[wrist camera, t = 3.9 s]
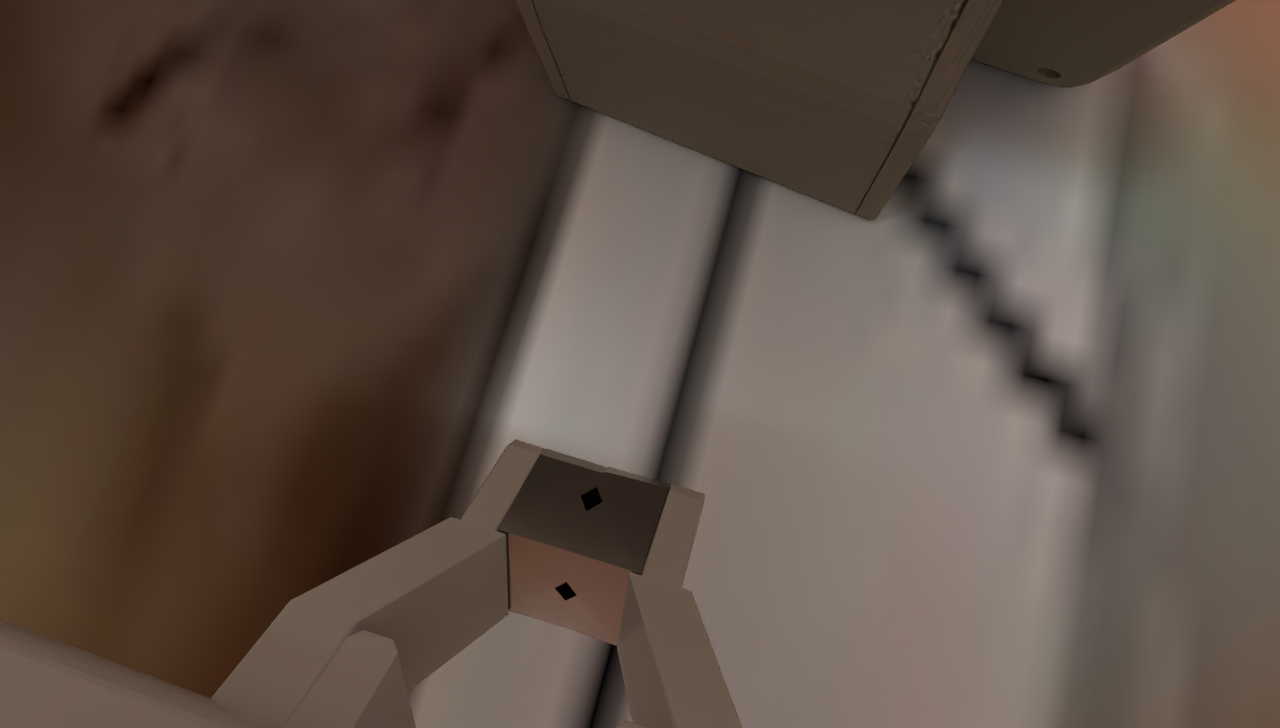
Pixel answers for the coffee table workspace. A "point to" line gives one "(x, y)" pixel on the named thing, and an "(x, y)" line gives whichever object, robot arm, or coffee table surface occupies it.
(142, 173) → the coffee table surface
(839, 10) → the digital clock
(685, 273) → the coffee table surface
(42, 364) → the coffee table surface
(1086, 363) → the coffee table surface
